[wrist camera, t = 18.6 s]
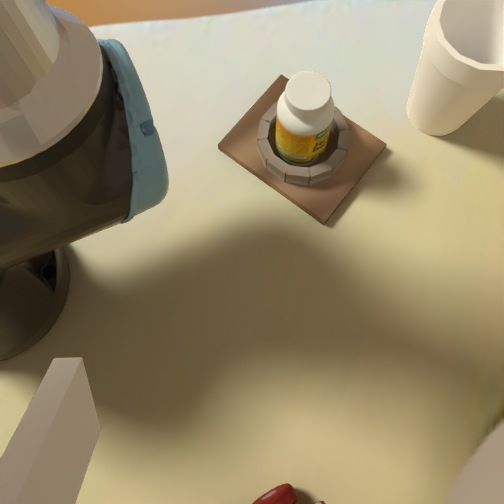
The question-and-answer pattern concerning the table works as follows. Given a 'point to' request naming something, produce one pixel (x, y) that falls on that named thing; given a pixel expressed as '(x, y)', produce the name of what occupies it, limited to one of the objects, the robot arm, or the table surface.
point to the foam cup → (457, 64)
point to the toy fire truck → (280, 496)
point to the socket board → (308, 176)
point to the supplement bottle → (304, 118)
